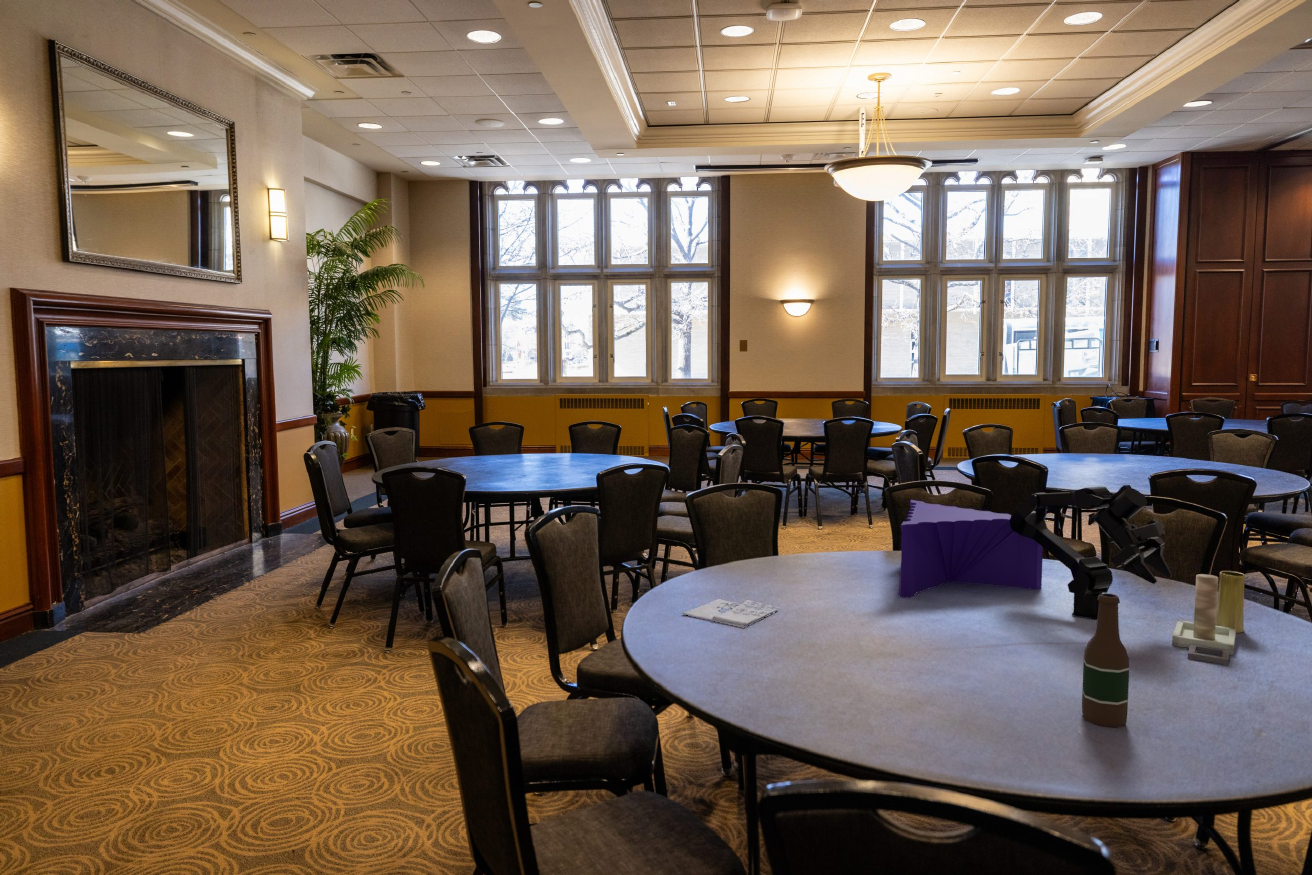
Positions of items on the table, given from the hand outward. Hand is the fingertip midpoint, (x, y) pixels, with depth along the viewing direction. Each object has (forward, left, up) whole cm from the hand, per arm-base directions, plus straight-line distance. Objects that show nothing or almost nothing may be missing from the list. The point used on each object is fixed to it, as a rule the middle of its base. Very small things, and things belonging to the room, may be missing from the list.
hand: (1163, 579), depth 209 cm
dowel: (+9, -1, -13) cm, 16 cm away
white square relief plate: (-96, -45, -14) cm, 107 cm away
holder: (+11, -13, -14) cm, 21 cm away
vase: (+14, +13, -14) cm, 24 cm away
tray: (+9, -1, -14) cm, 16 cm away
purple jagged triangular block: (-59, +15, -14) cm, 63 cm away
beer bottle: (-3, -64, -14) cm, 65 cm away
